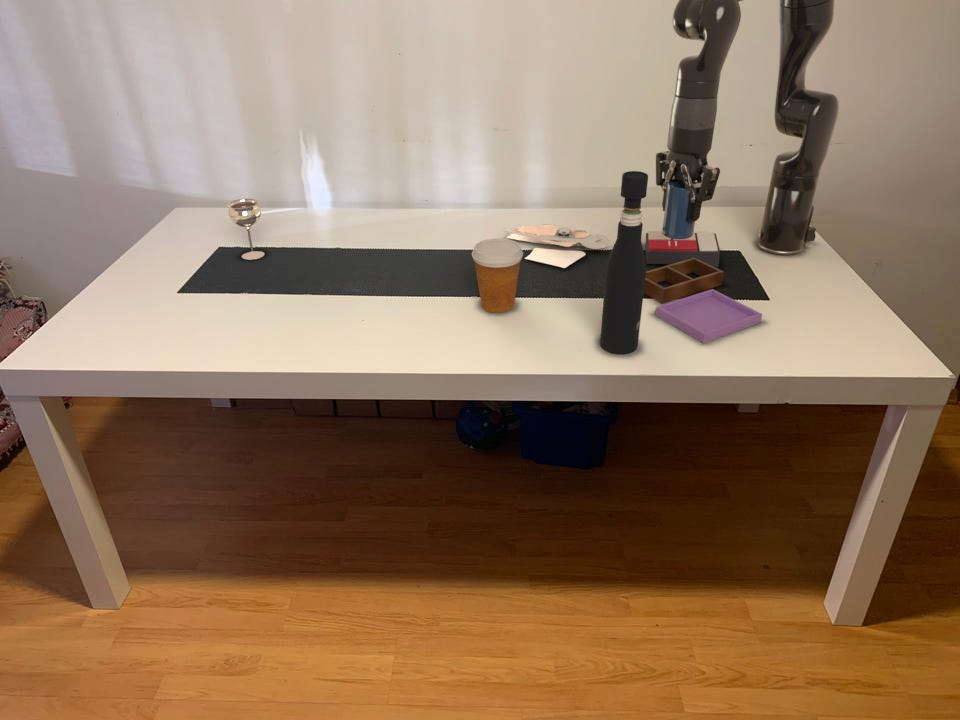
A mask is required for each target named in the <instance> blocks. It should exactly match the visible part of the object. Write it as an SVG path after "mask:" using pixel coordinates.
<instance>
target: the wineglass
mask: <svg viewBox="0 0 960 720" xmlns="http://www.w3.org/2000/svg"><path fill="white" fill-rule="evenodd" d="M259 203H260V201H259V200H258V199H256V198H249V197H248V198H239V199H234V200H231V201H230V202H228V203H227V205H226V206H227V208H228V217H229V219H230V221H231V222H232V223H233V224H235V226H238V227H241V228H244V229H245V230H246V234H247V239H248V244H249V246H250V251H246V252H245V253H243V254H242V255H241V258H242V259H244V260H249V261H250V260H251V261H252V260H257V259H261V258H263V257H264V256H265V252H263V251H261V250H254V248H253V241H252V233H251V229H252V227H253V226H255V225H256V224H257V223H258V222H259V220H260V219H261V215H262V210H261V208H260V206H259Z"/></svg>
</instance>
